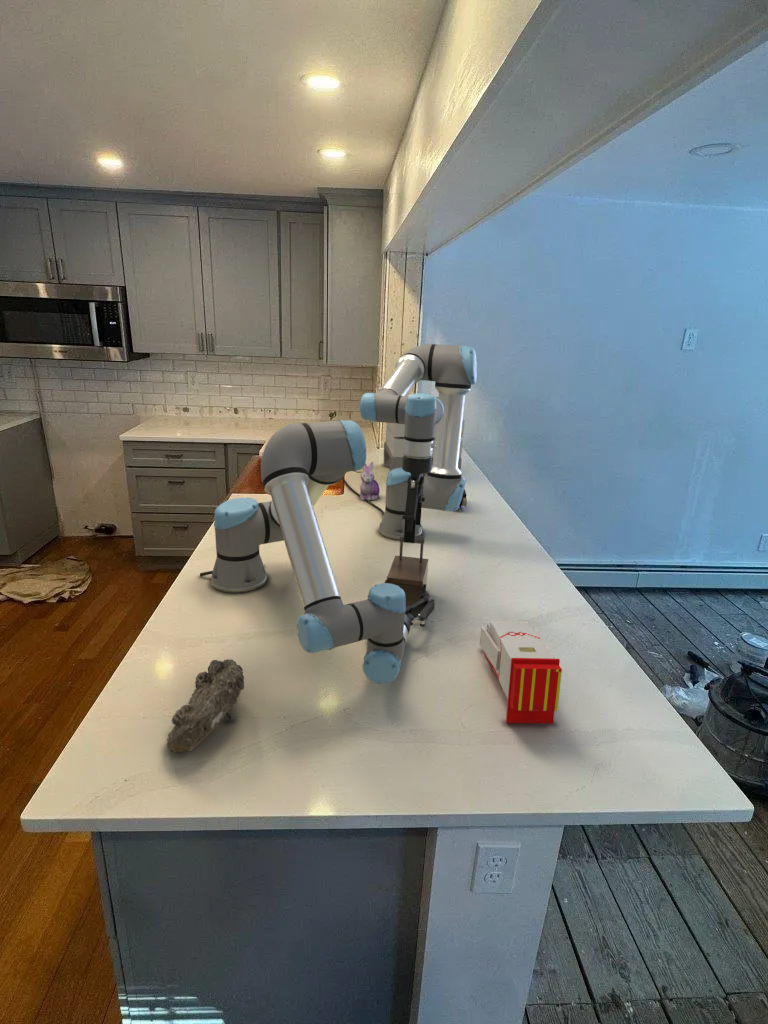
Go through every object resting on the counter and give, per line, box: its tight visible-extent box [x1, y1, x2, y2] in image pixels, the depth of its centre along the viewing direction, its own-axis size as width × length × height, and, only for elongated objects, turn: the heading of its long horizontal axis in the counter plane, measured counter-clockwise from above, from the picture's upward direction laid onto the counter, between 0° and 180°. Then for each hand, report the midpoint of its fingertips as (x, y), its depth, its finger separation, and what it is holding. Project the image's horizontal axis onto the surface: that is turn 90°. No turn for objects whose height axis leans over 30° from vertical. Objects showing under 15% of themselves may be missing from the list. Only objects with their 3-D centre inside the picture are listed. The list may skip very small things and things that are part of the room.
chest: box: [387, 565, 429, 617], centre depth 153 cm, size 14×9×9 cm
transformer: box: [383, 396, 465, 472], centre depth 268 cm, size 34×33×41 cm
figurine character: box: [458, 488, 468, 511], centre depth 230 cm, size 7×8×15 cm
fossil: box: [166, 658, 245, 754], centre depth 106 cm, size 22×10×15 cm
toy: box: [478, 620, 563, 725], centre depth 121 cm, size 12×13×30 cm
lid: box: [386, 534, 429, 586], centre depth 150 cm, size 14×9×9 cm, turn 170°
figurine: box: [359, 461, 381, 501], centre depth 233 cm, size 9×10×15 cm
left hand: (405, 586), depth 148 cm, fingers closed on chest, 9 cm apart
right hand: (412, 533), depth 152 cm, fingers open, 13 cm apart
